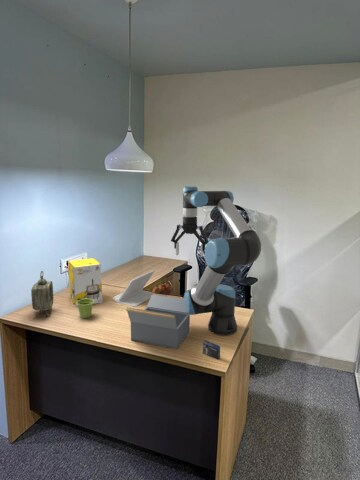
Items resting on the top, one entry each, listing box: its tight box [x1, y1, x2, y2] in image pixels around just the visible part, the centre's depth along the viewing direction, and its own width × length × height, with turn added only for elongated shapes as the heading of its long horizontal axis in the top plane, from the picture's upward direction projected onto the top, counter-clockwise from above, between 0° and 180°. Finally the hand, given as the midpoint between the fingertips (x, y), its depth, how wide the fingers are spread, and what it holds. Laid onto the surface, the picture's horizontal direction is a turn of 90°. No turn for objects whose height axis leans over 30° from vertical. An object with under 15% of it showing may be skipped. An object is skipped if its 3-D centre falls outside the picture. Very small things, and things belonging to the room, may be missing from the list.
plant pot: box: [77, 299, 94, 319], centre depth 187 cm, size 9×9×9 cm
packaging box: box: [67, 257, 103, 308], centre depth 208 cm, size 16×16×25 cm
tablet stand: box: [112, 269, 155, 308], centre depth 215 cm, size 18×25×17 cm
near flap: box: [125, 306, 177, 330], centre depth 152 cm, size 24×9×1 cm
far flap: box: [146, 293, 188, 314], centre depth 175 cm, size 24×9×1 cm
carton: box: [130, 306, 191, 350], centre depth 164 cm, size 24×18×10 cm
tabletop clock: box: [30, 270, 54, 317], centre depth 189 cm, size 14×9×25 cm, turn 12°
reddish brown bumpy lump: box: [151, 283, 172, 296], centre depth 197 cm, size 15×8×15 cm, turn 141°
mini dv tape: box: [202, 339, 221, 360], centre depth 147 cm, size 8×2×6 cm, turn 51°
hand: (189, 255), depth 178 cm, fingers open, 13 cm apart
